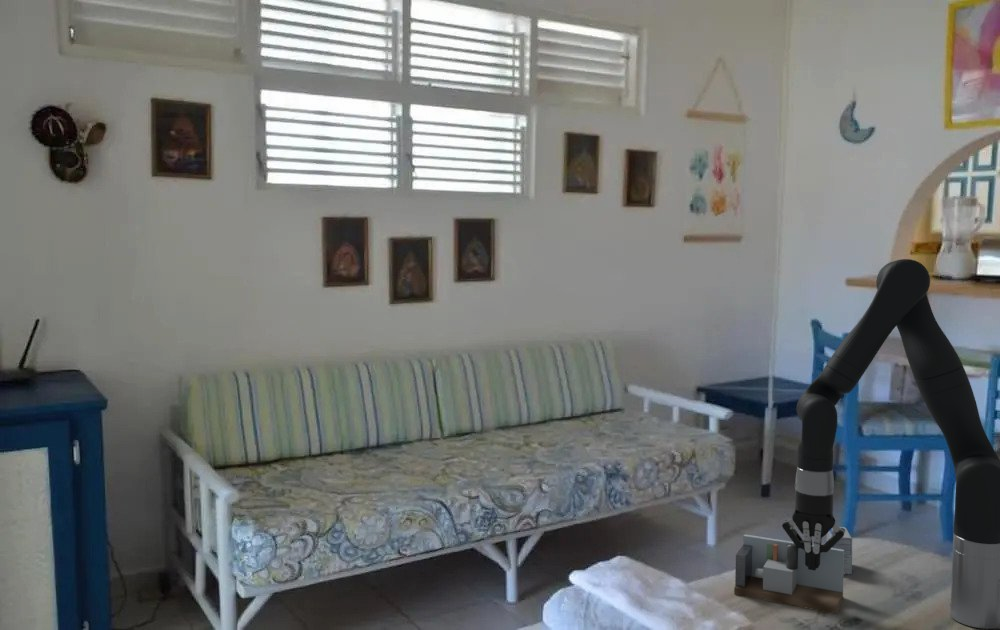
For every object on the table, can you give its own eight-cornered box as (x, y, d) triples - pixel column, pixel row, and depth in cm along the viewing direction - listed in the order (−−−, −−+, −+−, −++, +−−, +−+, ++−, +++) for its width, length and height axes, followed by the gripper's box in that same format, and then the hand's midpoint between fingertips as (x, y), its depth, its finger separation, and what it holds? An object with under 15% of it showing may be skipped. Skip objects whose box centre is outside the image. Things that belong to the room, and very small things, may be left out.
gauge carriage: (799, 585, 187) (801, 541, 186) (795, 595, 182) (796, 550, 181) (759, 578, 191) (759, 534, 191) (753, 587, 186) (754, 543, 186)
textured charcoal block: (751, 576, 193) (752, 545, 192) (744, 587, 187) (745, 556, 186) (742, 574, 194) (743, 544, 193) (735, 585, 188) (735, 554, 187)
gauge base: (842, 597, 185) (843, 590, 185) (837, 613, 177) (837, 606, 177) (743, 579, 195) (743, 573, 195) (734, 594, 187) (734, 587, 187)
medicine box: (852, 575, 197) (853, 538, 196) (831, 573, 198) (832, 537, 197) (845, 562, 205) (846, 526, 204) (825, 561, 206) (826, 525, 205)
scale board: (843, 590, 185) (844, 549, 184) (842, 592, 184) (843, 551, 183) (743, 573, 195) (744, 534, 194) (742, 574, 194) (743, 535, 193)
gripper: (850, 488, 181) (847, 568, 183) (785, 480, 187) (783, 557, 189) (845, 498, 174) (843, 580, 176) (778, 489, 181) (776, 569, 182)
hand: (812, 568), depth 183 cm, fingers closed
